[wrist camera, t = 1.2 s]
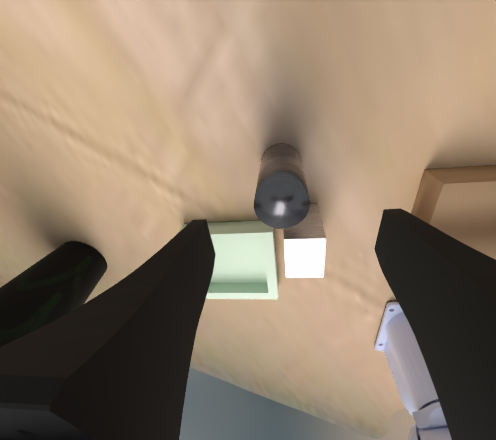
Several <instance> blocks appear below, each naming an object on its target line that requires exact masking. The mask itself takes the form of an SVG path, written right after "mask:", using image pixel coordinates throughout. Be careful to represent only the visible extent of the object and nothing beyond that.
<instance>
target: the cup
mask: <svg viewBox="0 0 496 440" xmlns="http://www.w3.org/2000/svg"><path fill="white" fill-rule="evenodd" d="M106 269H107V263H106V261H105V259H104V257H103V256H102V255H101V254H100V253H99V252H98V251H97V250H96V249H94V248H93V247H91V246H89V245H87V244H84V243H81V242H76V241H69V242H66V243H64V244H63V245H61V246H60V247H59V248H57V249H56V250H54V251H53V252H51V253H50V254H48V255H47V256H46V257H44V258H43V259H41V260H40V261H38V262H37V263H35V264H34V265H33V266H31V267H30V268H28V269H27V270H25V271H24V272H22V273H21V274H20V275H18V276H17V277H15V278H14V279H12V280H11V281H10V282H8V283H7V284H5V285H4V286H2V287H1V288H0V347H1V346H3V345H6V344H8V343H10V342H12V341H14V340H16V339H18V338H20V337H22V336H24V335H27V334H29V333H31V332H33V331H35V330H37V329H39V328H41V327H43V326H45V325H47V324H49V323H51V322H53V321H55V320H56V319H58V318H60V317H62V316H64V315H66V314H68V313H69V312H71V311H73V310H75V309H77V308H78V307H80V306H82V305H83V304H84V303H85V301H86V300H87V298H88V297H89V295H90V294H91V292H92V291H93V289H94V288H95V286H96V285H97V283H98V282H99V280H100V279H101V277H102V276H103V274H104V273H105V271H106Z"/></svg>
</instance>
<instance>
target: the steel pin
mask: <svg viewBox="0 0 496 440" xmlns="http://www.w3.org/2000/svg"><path fill="white" fill-rule="evenodd" d="M309 208H310V200H309V195H308V191H307V186H306V182H305V177H304V172H303V168H302V163H301V158H300V155H299V153H298V151H297V150H296V149H295V148H294V147H292V146H291V145H288V144H283V143H281V144H275V145H273V146H271V147H270V148H268V149H267V150H266V151H265V153H264V155H263V157H262V161H261V166H260V172H259V177H258V183H257V188H256V194H255V200H254V210H255V213H256V215H257V217H258V218H259V219H260V220H261V221H262V222H263V223H265V224H266V225H268V226H270V227H273V228H281V229H283V228H290V227H293V226H295V225H297V224H299V223H300V222H301V221H302V220H304V218H305V217H306V216H307V214H308V212H309Z"/></svg>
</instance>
